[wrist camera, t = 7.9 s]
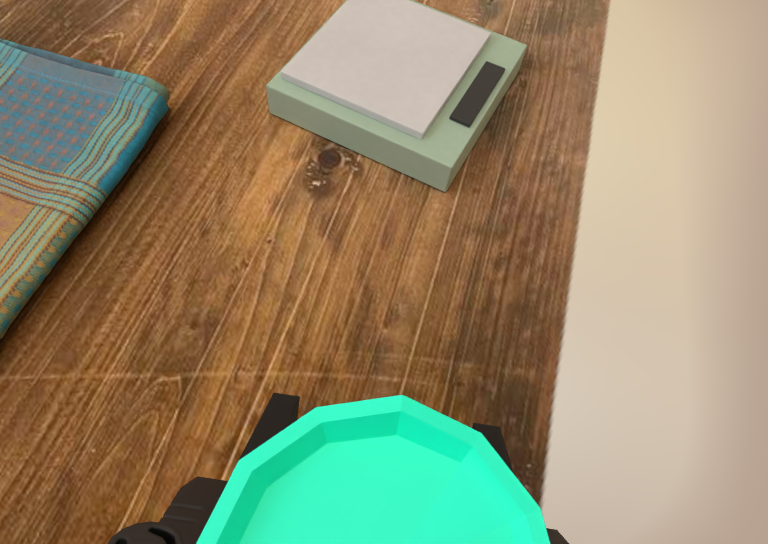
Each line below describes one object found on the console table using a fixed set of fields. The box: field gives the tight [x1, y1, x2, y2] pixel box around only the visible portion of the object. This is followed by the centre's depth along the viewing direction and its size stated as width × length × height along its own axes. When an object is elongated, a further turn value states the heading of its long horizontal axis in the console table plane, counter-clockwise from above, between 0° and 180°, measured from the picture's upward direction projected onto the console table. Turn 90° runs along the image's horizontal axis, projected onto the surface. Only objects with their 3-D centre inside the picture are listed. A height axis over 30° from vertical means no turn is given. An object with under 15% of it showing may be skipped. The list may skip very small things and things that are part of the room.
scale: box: [266, 0, 527, 192], centre depth 40 cm, size 13×13×3 cm
